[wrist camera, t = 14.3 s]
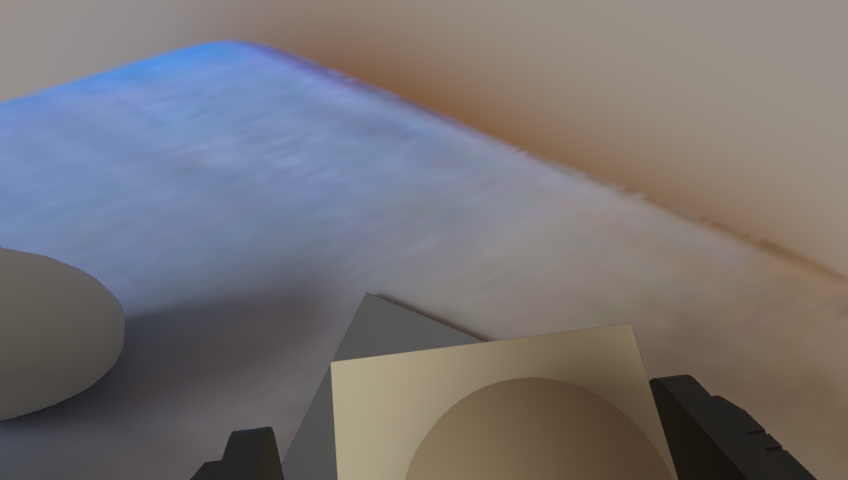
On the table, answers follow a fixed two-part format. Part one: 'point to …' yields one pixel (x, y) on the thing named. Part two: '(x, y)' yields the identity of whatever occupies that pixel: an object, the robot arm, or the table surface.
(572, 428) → the wooden block
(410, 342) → the rubber mat
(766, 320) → the table surface
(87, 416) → the table surface
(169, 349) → the table surface
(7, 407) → the donut
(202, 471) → the robot arm
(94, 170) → the table surface
